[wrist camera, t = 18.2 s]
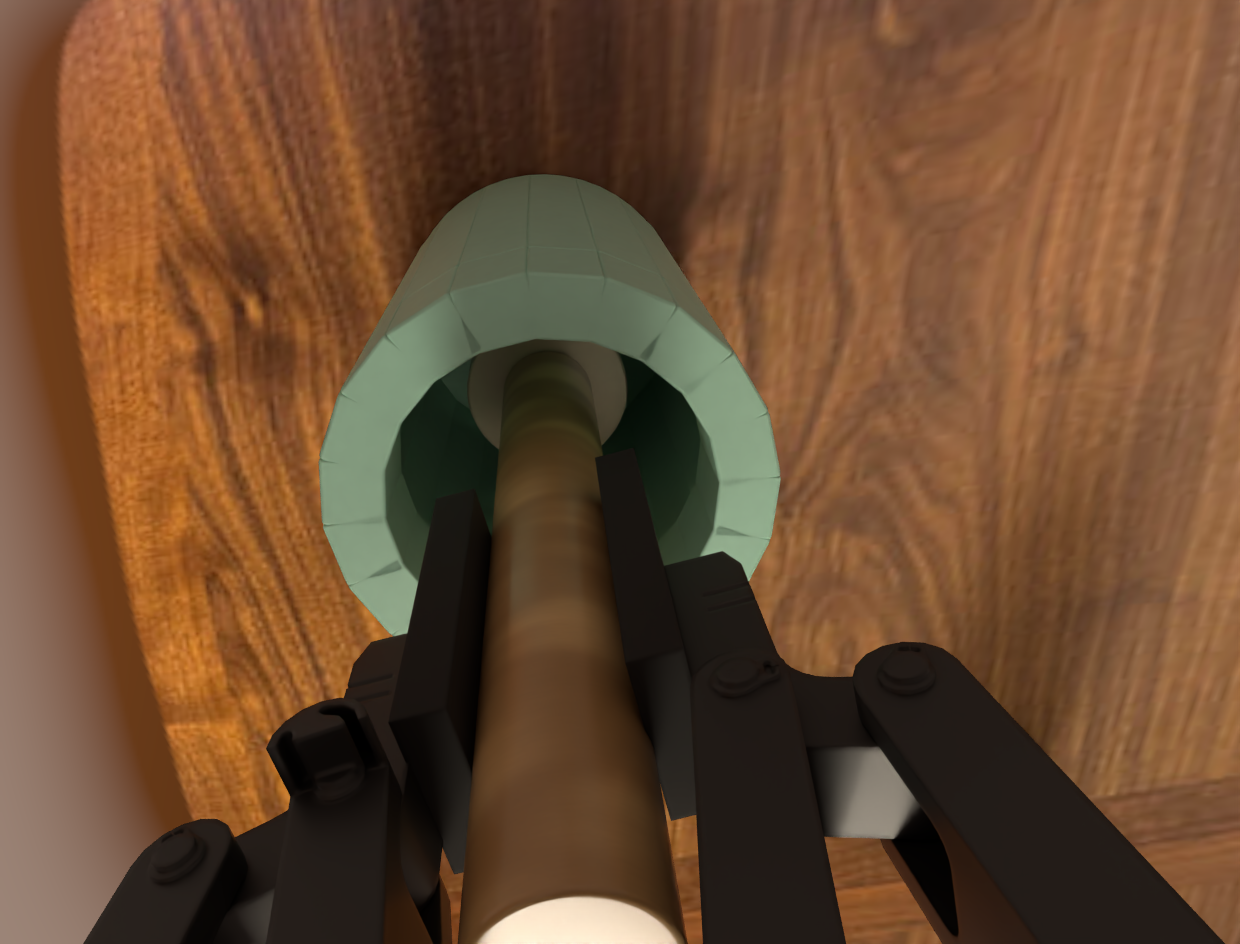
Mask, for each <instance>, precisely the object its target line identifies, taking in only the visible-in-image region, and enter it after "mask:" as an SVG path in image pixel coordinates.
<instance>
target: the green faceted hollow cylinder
mask: <svg viewBox="0 0 1240 944" xmlns="http://www.w3.org/2000/svg"><path fill="white" fill-rule="evenodd" d="M534 339H543V340H563V341H582V342H592V343H595V344H597V345H600V346H603V347H605V348H608V349H611V350H613V351H616V352H619V353H620V354H621V358H622V361H623V365H624V368H625V372H626V377H627V388H628V393H627V402H626V406H625V410H624V413H623V416H622V418H621V421H620V422H619V424H618V426H617V428H616V429H615V431H614V432H613V433H612V435H611V436H610V437H609V438H608V439H607V440H606V441H605V443H604V444H602V445H601V446H602V451H603V455H607V454H611V453H615V452H619V451H623V450H627V449H630V448H634V451H635V455H636V458H637V462H638V466H639V470H640V474H641V478H642V482H643V486H644V490H645V493H646V497H647V501H648V505H649V509H650V513H651V517H652V521H653V525H654V529H655V532H656V536H657V540H658V544H659V548H660V552H661V556H662V560H663V564H664V566H665V565H669V564H673V563H677V562H681V561H685V560H689V559H693V558H697V557H701V556H705V555H709V554H712V553H716V552H720V551H723V552H725V553H726V554H728V555H729V556H731V557H732V558H734V559H735V560H737V561H738V562H740V563H741V564H742V566H743V569H744V571H745V574H746V576H747V579H748V581H749V580H750V578H751V576H752V574H753V572H754V570H755V568H756V566H757V565H758V563H759V561H760V559H761V557H762V555H763V553H764V551H765V549H766V547H767V545H768V544H769V542H770V538H771V536H772V530H773V523H774V517H775V511H776V505H777V498H778V492H779V486H780V479H781V478H780V468H779V462H778V457H777V452H776V446H775V441H774V436H773V430H772V425H771V420H770V414H769V413H768V408H767V407H766V405H765V403H764V402H763V400H762V398H761V396H760V395H759V393H758V391H757V390H756V388H755V386H754V384H753V383H752V381H751V379H750V378H749V376H748V374H747V373H746V371H745V369H744V367H743V366H742V364H741V362H740V361H739V359H738V357H737V356H736V354H735V352H734V351H733V349H732V348H731V346H730V345H729V343H728V342H727V340H726V339H725V337H724V335H723V334H722V332H721V331H720V329H719V328H718V326H717V325H716V323H715V322H714V320H713V319H712V317H711V315H710V314H709V312H708V311H707V309H706V308H705V306H704V305H703V303H702V302H701V300H700V299H699V297H698V295H697V294H696V292H695V291H694V289H693V288H692V286H691V285H690V283H689V282H688V280H687V279H686V277H685V275H684V274H683V272H682V271H681V269H680V268H679V266H678V265H677V263H676V262H675V260H674V259H673V257H672V255H671V254H670V252H669V251H668V249H667V248H666V246H665V245H664V243H663V242H662V240H661V239H660V237H659V235H658V234H657V232H656V231H655V229H654V228H653V227H652V226H651V225H650V224H649V223H648V222H647V221H646V220H645V219H644V218H643V217H642V216H641V215H640V214H639V213H638V212H637V211H636V210H635V209H634V208H633V207H632V206H630V205H629V204H628V203H626V202H625V201H624V200H622V199H621V198H619V197H618V196H617V195H615V194H613V193H611V192H609V191H607V190H605V189H604V188H602V187H600V186H597V185H595V184H592V183H589V182H586V181H584V180H580V179H576V178H571V177H567V176H560V175H548V174H539V175H525V176H519V177H514V178H509V179H505V180H502V181H499V182H497V183H494V184H491V185H488V186H486V187H484V188H482V189H480V190H478V191H476V192H474V193H473V194H471V195H470V196H468V197H467V198H465V199H464V200H463V201H461V202H460V203H458V204H457V205H456V206H455V207H454V208H453V209H452V210H450V211H449V212H448V213H447V214H446V215H445V216H444V217H443V218H442V220H441V221H440V222H439V223H438V224H437V226H436V227H435V228H434V229H433V231H432V232H431V234H430V236H429V237H428V238H427V240H426V241H425V242H424V244H423V245H422V246H421V248H420V249H419V251H418V253H417V255H416V256H415V258H414V260H413V262H412V264H411V265H410V267H409V269H408V271H407V272H406V274H405V276H404V278H403V280H402V281H401V283H400V285H399V287H398V288H397V290H396V292H395V294H394V296H393V297H392V299H391V301H390V303H389V304H388V306H387V308H386V310H385V312H384V313H383V315H382V317H381V319H380V320H379V322H378V324H377V326H376V328H375V329H374V331H373V333H372V335H371V337H370V338H369V340H368V342H367V344H366V345H365V347H364V349H363V351H362V353H361V354H360V356H359V358H358V360H357V362H356V363H355V365H354V367H353V369H352V370H351V372H350V374H349V376H348V378H347V379H346V381H345V383H344V385H343V386H342V388H341V391H340V392H339V394H338V397H337V400H336V403H335V406H334V409H333V413H332V416H331V419H330V422H329V425H328V429H327V432H326V435H325V438H324V441H323V445H322V448H321V451H320V460H319V476H320V494H321V513H322V522H323V524H324V525H323V529H324V531H325V533H326V536H327V538H328V540H329V543H330V545H331V547H332V550H333V552H334V554H335V557H336V559H337V562H338V564H339V566H340V569H341V571H342V573H343V576H344V578H345V580H346V583H347V584H348V585H349V588H350V589H351V591H352V592H353V593H354V594H355V595H356V596H357V597H358V598H359V600H360V601H361V602H362V603H363V604H364V605H365V606H366V607H367V609H368V610H369V611H370V612H371V613H372V614H373V615H374V616H375V618H376V619H377V620H378V621H379V622H380V623H381V624H382V625H383V627H384V628H385V629H386V630H387V631H388V632H389V633H390V634H392V635H393V636H397V635H401V634H405V633H407V632H408V627H409V623H410V618H411V613H412V609H413V604H414V599H415V595H416V590H417V585H418V581H419V576H420V571H421V567H422V562H423V557H424V553H425V548H426V543H427V539H428V534H429V529H430V525H431V520H432V515H433V511H434V506H435V501H436V498H439V497H443V496H447V495H451V494H455V493H459V492H463V491H466V490H470V489H474V488H475V490H476V493H477V496H478V499H479V502H480V505H481V508H482V511H483V514H484V517H485V520H486V523H487V526H488V529H489V532H490V534H491V537H492V527H493V515H494V503H495V491H496V479H497V466H498V454H499V449H497V448H496V447H495V446H494V445H492V444H491V443H490V442H489V441H488V440H487V439H486V438H485V436H484V435H483V434H482V432H481V431H480V430H479V428H478V426H477V425H476V423H475V421H474V419H473V416H472V414H471V411H470V407H469V404H468V397H467V381H468V375H469V369H470V364H471V359H472V358H473V357H474V356H476V355H478V354H480V353H483V352H487V351H491V350H495V349H499V348H503V347H507V346H510V345H514V344H518V343H522V342H526V341H530V340H534Z"/></svg>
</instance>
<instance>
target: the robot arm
mask: <svg viewBox="0 0 1240 944" xmlns="http://www.w3.org/2000/svg"><path fill="white" fill-rule="evenodd" d="M595 462H596V469H597V476H598V483H599V489H600V496H601V503H602V510H603V516H604V523H605V530H606V537H607V543H608V550H609V557H610V564H611V570H612V577H613V584H614V591H615V597H616V604H617V611H618V618H619V624H620V631H621V638H622V645H623V651H624V658H625V664H626V667H627V671H628V674H629V678H630V681H631V685H632V688H633V691H634V695H635V698H636V702H637V705H638V709H639V712H640V715H641V719H642V722H643V726H644V729H645V731H646V733H647V735H648V737H649V738H650V740H651V743H652V746H653V748H654V753H655V758H656V763H657V769H658V775H659V781H660V784H661V788H662V791H663V794H664V798H665V801H666V805H667V808H668V812H669V815H670V818H671V821H672V820H676V819H680V818H684V817H688V816H692V815H696V817H697V836H698V856H699V875H700V894H701V913H702V933H703V944H846V941H845V936H844V931H843V926H842V922H841V917H840V912H839V907H838V902H837V897H836V892H835V887H834V883H833V878H832V873H831V868H830V863H829V858H828V853H827V849H826V844H825V839H824V837H852V838H880V839H881V842H882V845H883V848H884V849H885V851H886V852H887V854H888V856H889V857H890V859H891V861H892V862H893V864H894V865H895V867H896V869H897V870H898V872H899V874H900V875H901V877H902V878H903V880H904V882H905V883H906V885H907V887H908V888H909V890H910V891H911V893H912V895H913V896H914V898H915V900H916V901H917V903H918V905H919V906H920V908H921V909H922V911H923V913H924V914H925V916H926V918H927V919H928V921H929V922H930V924H931V926H932V927H933V929H934V931H935V932H936V934H937V935H938V937H939V939H940V940H941V942H942V944H1225V943H1224V942H1223V941H1222V940H1221V939H1220V938H1219V937H1218V936H1217V935H1216V934H1215V933H1214V931H1213V930H1212V929H1211V928H1210V927H1209V926H1208V925H1207V924H1206V923H1205V922H1204V921H1203V920H1202V919H1201V918H1200V917H1199V915H1198V914H1197V913H1196V912H1195V911H1194V910H1193V909H1192V908H1191V907H1190V906H1189V905H1188V904H1187V903H1186V902H1185V901H1184V900H1183V898H1182V897H1181V896H1180V895H1179V894H1178V893H1177V892H1176V891H1175V890H1174V889H1173V888H1172V887H1171V886H1170V885H1169V884H1168V883H1167V881H1166V880H1165V879H1164V878H1163V877H1162V876H1161V875H1160V874H1159V873H1158V872H1157V871H1156V870H1155V869H1154V868H1153V867H1152V866H1151V864H1150V863H1149V862H1148V861H1147V860H1146V859H1145V858H1144V857H1143V856H1142V855H1141V854H1140V853H1139V852H1138V851H1137V850H1136V849H1135V847H1134V846H1133V845H1132V844H1131V843H1130V842H1129V841H1128V840H1127V839H1126V838H1125V837H1124V836H1123V835H1122V834H1121V833H1120V831H1119V830H1118V829H1117V828H1116V827H1115V826H1114V825H1113V824H1112V823H1111V822H1110V821H1109V820H1108V819H1107V818H1106V817H1105V816H1104V814H1103V813H1102V812H1101V811H1100V810H1099V809H1098V808H1097V807H1096V806H1095V805H1094V804H1093V803H1092V802H1091V801H1090V800H1089V799H1088V797H1087V796H1086V795H1085V794H1084V793H1083V792H1082V791H1081V790H1080V789H1079V788H1078V787H1077V786H1076V785H1075V784H1074V783H1073V782H1072V780H1071V779H1070V778H1069V777H1068V776H1067V775H1066V774H1065V773H1064V772H1063V771H1062V770H1061V769H1060V768H1059V767H1058V766H1057V765H1056V763H1055V762H1054V761H1053V760H1052V759H1051V758H1050V757H1049V756H1048V755H1047V754H1046V753H1045V752H1044V751H1043V750H1042V749H1041V748H1040V746H1039V745H1038V744H1037V743H1036V742H1035V741H1034V740H1033V739H1032V738H1031V737H1030V736H1029V735H1028V734H1027V733H1026V732H1025V730H1024V729H1023V728H1022V727H1021V726H1020V725H1019V724H1018V723H1017V722H1016V721H1015V720H1014V719H1013V718H1012V717H1011V716H1010V715H1009V713H1008V712H1007V711H1006V710H1005V709H1004V708H1003V707H1002V706H1001V705H1000V704H999V703H998V702H997V701H996V700H995V699H994V698H993V696H992V695H991V694H990V693H989V692H988V691H987V690H986V689H985V688H984V687H983V686H982V685H981V684H980V683H979V682H978V681H977V679H976V678H975V677H974V676H973V675H972V674H971V673H970V672H969V671H968V670H967V669H966V668H965V667H964V666H963V665H962V664H961V662H960V661H959V660H958V659H957V658H955V657H954V656H953V655H951V654H950V653H948V652H947V651H945V650H944V649H943V648H939V647H936V646H933V645H929V644H926V643H917V642H900V643H895V644H890V645H885V646H882V647H880V648H878V649H876V650H874V651H872V652H870V653H868V654H866V655H865V656H864V657H863V658H862V659H861V660H860V661H859V663H858V664H857V665H856V666H855V670H854V674H853V677H821V676H814V675H810V674H805V673H802V672H800V671H798V670H795V669H793V668H791V667H790V666H789V665H787V664H786V663H785V661H784V660H783V659H782V658H780V656H779V655H778V653H777V651H776V649H775V646H774V644H773V641H772V639H771V636H770V634H769V631H768V629H767V626H766V624H765V621H764V619H763V616H762V614H761V611H760V609H759V606H758V604H757V601H756V600H755V596H754V594H753V591H752V589H751V586H750V585H749V581H748V579H747V576H746V574H745V571H744V569H743V566H742V564H741V563H740V562H738V561H737V560H735V559H734V558H732V557H731V556H729V555H728V554H726V553H725V552H723V551H720V552H716V553H712V554H709V555H705V556H701V557H697V558H693V559H689V560H685V561H681V562H677V563H673V564H669V565H665V566H664V564H663V560H662V556H661V552H660V548H659V544H658V540H657V536H656V532H655V529H654V525H653V521H652V517H651V513H650V509H649V505H648V501H647V497H646V493H645V490H644V486H643V482H642V478H641V474H640V470H639V466H638V462H637V458H636V455H635V451H634V448H630V449H627V450H623V451H619V452H615V453H611V454H607V455H603V456H599V457H595ZM491 539H492V537H491V534H490V532H489V529H488V526H487V523H486V520H485V517H484V514H483V511H482V508H481V505H480V502H479V499H478V496H477V493H476V490H475V488H474V489H470V490H466V491H463V492H459V493H455V494H451V495H447V496H443V497H439V498H436V501H435V506H434V511H433V515H432V520H431V525H430V529H429V534H428V539H427V543H426V548H425V553H424V557H423V562H422V567H421V571H420V576H419V581H418V585H417V590H416V595H415V599H414V604H413V609H412V613H411V618H410V623H409V627H408V632H407V633H405V634H401V635H397V636H393V637H389V638H386V639H382V640H378V641H374V642H371V643H370V644H369V646H368V647H367V648H366V649H365V651H364V652H363V653H362V654H361V656H360V657H359V658H358V659H357V661H356V662H355V663H354V665H353V668H352V672H351V675H350V679H349V682H348V689H346V693H345V696H344V698H336V699H332V700H327V701H322V702H319V703H317V704H315V705H312V706H310V707H308V708H305V709H303V710H301V711H300V712H298V713H297V714H296V715H294V716H293V717H291V718H290V719H288V720H287V721H285V722H284V723H283V725H282V726H281V727H280V728H279V729H278V730H277V731H276V732H275V733H274V734H273V735H272V737H271V739H270V742H269V744H268V746H267V748H266V749H267V751H268V753H269V755H270V757H271V759H272V761H273V763H274V765H275V767H276V769H277V771H278V773H279V775H280V777H281V779H282V781H283V783H284V785H285V787H286V789H287V790H288V792H289V794H290V796H291V797H290V803H289V809H288V810H287V811H286V812H284V813H282V814H280V815H279V816H277V817H275V818H273V819H272V820H270V821H268V822H266V823H264V824H261V825H259V826H257V827H255V828H253V829H251V830H249V831H247V832H245V833H243V834H241V835H239V836H237V837H234V835H233V834H232V832H231V830H230V828H229V826H228V825H227V824H225V823H223V822H221V821H220V820H218V819H199V820H196V821H193V822H189V823H186V824H183V825H181V826H179V827H177V828H175V829H173V830H172V831H169V832H167V833H166V834H164V835H162V836H161V837H160V838H159V839H157V840H156V841H155V842H154V843H152V845H150V846H149V847H148V848H146V849H145V850H144V851H143V852H142V853H141V855H140V856H139V857H138V858H137V860H136V861H135V862H134V863H133V865H132V866H131V867H130V869H129V870H128V872H127V874H126V875H125V877H124V879H123V880H122V882H121V884H120V885H119V887H118V888H117V890H116V892H115V893H114V895H113V896H112V898H111V900H110V901H109V903H108V904H107V906H106V908H105V910H104V911H103V913H102V914H101V916H100V917H99V919H98V921H97V922H96V924H95V926H94V927H93V929H92V931H91V932H90V934H89V935H88V937H87V939H86V940H85V942H84V944H452V929H451V908H450V900H449V897H448V894H447V891H446V888H445V886H444V884H443V881H442V879H441V877H440V875H439V871H440V862H441V853H442V847H443V850H444V852H445V854H446V857H447V859H448V861H449V863H450V866H451V868H452V870H453V873H454V874H458V873H462V872H464V863H465V851H466V839H467V827H468V815H469V803H470V791H471V779H472V767H473V755H474V743H475V731H476V719H477V707H478V695H479V683H480V671H481V659H482V647H483V635H484V623H485V611H486V599H487V587H488V575H489V563H490V551H491Z"/></svg>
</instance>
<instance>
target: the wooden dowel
mask: <svg viewBox="0 0 1240 944" xmlns="http://www.w3.org/2000/svg"><path fill="white" fill-rule="evenodd" d="M627 393H628V388H627V377H626V372H625V368H624V365H623V361H622V358H621V354H620V353H619V352H616V351H613V350H611V349H608V348H605V347H603V346H600V345H597V344H595V343H592V342H582V341H563V340H543V339H534V340H530V341H526V342H522V343H518V344H514V345H510V346H507V347H503V348H499V349H495V350H491V351H487V352H483V353H480V354H478V355H476V356H474V357H473V358H472V359H471V364H470V369H469V375H468V381H467V397H468V404H469V407H470V411H471V414H472V416H473V419H474V421H475V423H476V425H477V426H478V428H479V430H480V431H481V432H482V434H483V435H484V436H485V438H486V439H487V440H488V441H489V442H490V443H491V444H492V445H494V446H495V447H496V448H497V449H499V454H498V466H497V479H496V491H495V503H494V515H493V527H492V539H491V551H490V563H489V575H488V587H487V599H486V611H485V623H484V635H483V647H482V659H481V671H480V683H479V695H478V707H477V719H476V731H475V743H474V755H473V767H472V779H471V791H470V803H469V815H468V827H467V839H466V851H465V863H464V875H463V887H462V899H461V911H460V923H459V935H458V944H688V942H687V937H686V931H685V925H684V919H683V914H682V908H681V902H680V896H679V890H678V885H677V879H676V873H675V867H674V862H673V856H672V850H671V844H670V838H669V833H668V827H667V821H666V815H665V810H664V804H663V798H662V792H661V786H660V781H659V775H658V769H657V763H656V758H655V753H654V748H653V746H652V743H651V740H650V738H649V737H648V735H647V733H646V731H645V729H644V726H643V722H642V719H641V715H640V712H639V709H638V705H637V702H636V698H635V695H634V691H633V688H632V685H631V681H630V678H629V674H628V671H627V667H626V664H625V658H624V651H623V645H622V638H621V631H620V624H619V618H618V611H617V604H616V597H615V591H614V584H613V577H612V570H611V564H610V557H609V550H608V543H607V537H606V530H605V523H604V516H603V510H602V503H601V496H600V489H599V483H598V476H597V469H596V462H595V457H599V456H603V451H602V446H601V445H602V444H604V443H605V441H606V440H607V439H608V438H609V437H610V436H611V435H612V433H613V432H614V431H615V429H616V428H617V426H618V424H619V422H620V421H621V418H622V416H623V413H624V410H625V406H626V402H627Z"/></svg>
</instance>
